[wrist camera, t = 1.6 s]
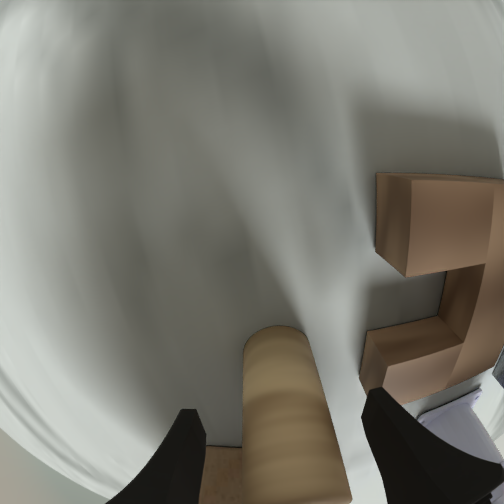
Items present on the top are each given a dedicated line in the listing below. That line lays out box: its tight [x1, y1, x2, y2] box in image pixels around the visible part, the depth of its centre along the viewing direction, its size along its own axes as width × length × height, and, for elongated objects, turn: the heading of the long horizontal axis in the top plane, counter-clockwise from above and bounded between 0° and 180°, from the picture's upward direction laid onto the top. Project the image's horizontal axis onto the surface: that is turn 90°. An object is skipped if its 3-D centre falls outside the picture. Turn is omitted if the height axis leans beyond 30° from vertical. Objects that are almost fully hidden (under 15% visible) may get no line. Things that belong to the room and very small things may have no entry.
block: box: [359, 173, 504, 405], centre depth 12 cm, size 12×10×3 cm
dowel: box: [242, 326, 352, 504], centre depth 10 cm, size 4×4×9 cm
